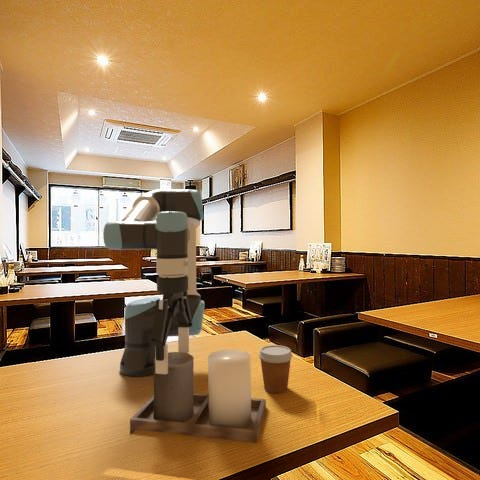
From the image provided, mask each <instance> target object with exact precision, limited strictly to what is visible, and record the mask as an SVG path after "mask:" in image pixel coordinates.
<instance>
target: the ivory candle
mask: <svg viewBox="0 0 480 480" xmlns="http://www.w3.org/2000/svg"><path fill="white" fill-rule="evenodd" d="M251 356H252V355H251V354H250V353H249V352H248V351H245V350H241V349H232V348H231V349H230V348H229V349H222V350H221V349H220V350H215V351H213V352H210V354H209V355H208V357H207V365H208V368H207V370H208V371H207V374H208V375H207V376H208V378H207V379H208V381H207V382H208V384H207V385H208V389H207V391H208V392H207V393H208V394H209V424H210V425H211V426H221V427H230V428H240V429H245V428H247V427H248V426H249V425H250V423H251V398H252V368H251V367H252V361H251V360H252V357H251Z"/></svg>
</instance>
